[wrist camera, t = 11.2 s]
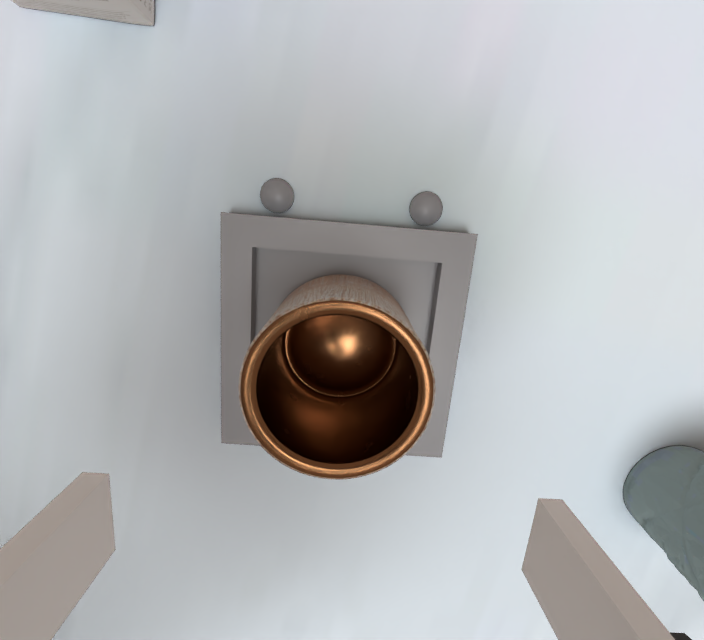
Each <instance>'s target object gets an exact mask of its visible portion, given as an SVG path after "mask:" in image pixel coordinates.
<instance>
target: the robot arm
mask: <svg viewBox="0 0 704 640" xmlns="http://www.w3.org/2000/svg"><path fill="white" fill-rule="evenodd" d="M114 551H115V540H114V528H113V516H112V504H111V492H110V480H109V474H104V473H87V472H82V473H81V474H80V475H79V476H78V477H77V478H76V479H75V480H74V481H73V482H72V483H71V484H70V485H68V486H67V487H66V488H65V489H64V490H63V491H62V492H61V493H60V494H59V495H58V496H57V497H56V498H55V499H53V500H52V501H51V502H50V503H49V504H48V505H47V506H46V507H45V508H44V509H43V510H42V511H41V512H40V513H38V514H37V515H36V516H35V517H34V518H33V519H32V520H31V521H30V522H29V523H28V524H27V525H26V526H25V527H23V528H22V529H21V530H20V531H19V532H18V533H17V534H16V535H15V536H14V537H13V538H12V539H11V540H10V541H8V542H7V543H6V544H5V545H4V546H3V547H2V548H1V549H0V640H51V639H52V638H53V637H54V635H55V634H56V632H57V631H58V630H59V628H60V627H61V625H62V624H63V623H64V621H65V620H66V618H67V617H68V615H69V614H70V613H71V611H72V610H73V608H74V607H75V606H76V604H77V603H78V601H79V600H80V599H81V597H82V596H83V594H84V593H85V592H86V590H87V589H88V587H89V586H90V585H91V583H92V582H93V580H94V579H95V578H96V576H97V575H98V573H99V572H100V571H101V569H102V568H103V566H104V565H105V563H106V562H107V561H108V559H109V558H110V556H111V555H112V554H113V552H114ZM522 571H523V573H524V575H525V577H526V579H527V581H528V583H529V585H530V587H531V589H532V590H533V592H534V594H535V596H536V598H537V600H538V602H539V604H540V606H541V608H542V610H543V612H544V613H545V615H546V617H547V619H548V621H549V623H550V625H551V627H552V629H553V631H554V633H555V635H556V636H557V638H558V640H692V639H690V638H689V637H688V636H687V635H686V634H685V633H669V631H668V630H667V629H666V628H665V626H664V625H663V624H662V623H661V621H660V620H659V619H658V618H657V616H656V615H655V614H654V613H653V612H652V610H651V609H650V608H649V607H648V605H647V604H646V603H645V602H644V600H643V599H642V598H641V597H640V595H639V594H638V593H637V592H636V590H635V589H634V588H633V587H632V585H631V584H630V583H629V582H628V580H627V579H626V578H625V577H624V576H623V574H622V573H621V572H620V571H619V569H618V568H617V567H616V566H615V564H614V563H613V562H612V561H611V559H610V558H609V557H608V556H607V554H606V553H605V552H604V551H603V549H602V548H601V547H600V546H599V545H598V543H597V542H596V541H595V540H594V538H593V537H592V536H591V535H590V533H589V532H588V531H587V530H586V528H585V527H584V526H583V525H582V523H581V522H580V521H579V520H578V518H577V517H576V516H575V515H574V513H573V512H572V511H571V510H570V509H569V507H568V506H567V505H566V504H565V502H564V501H563V500H560V499H542V498H538V502H537V507H536V511H535V515H534V519H533V524H532V528H531V532H530V536H529V540H528V545H527V549H526V553H525V557H524V562H523V566H522Z"/></svg>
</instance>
